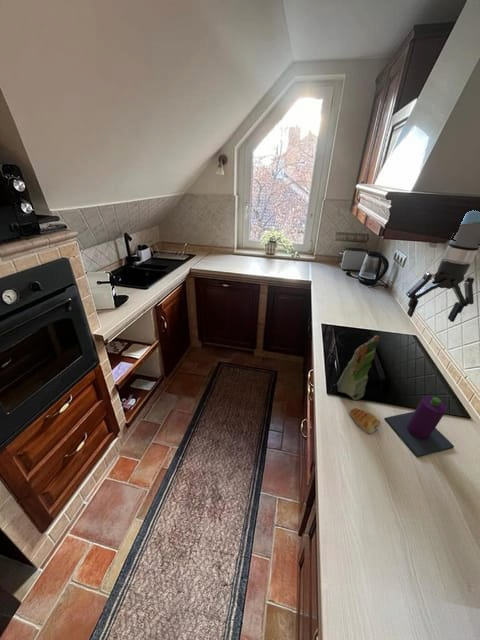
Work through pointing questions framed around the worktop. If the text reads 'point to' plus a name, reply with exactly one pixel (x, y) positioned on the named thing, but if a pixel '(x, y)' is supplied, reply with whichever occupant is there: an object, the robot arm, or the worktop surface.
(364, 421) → the pastry
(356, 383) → the pouch
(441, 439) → the mat
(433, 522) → the worktop surface
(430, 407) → the aubergine
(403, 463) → the worktop surface
